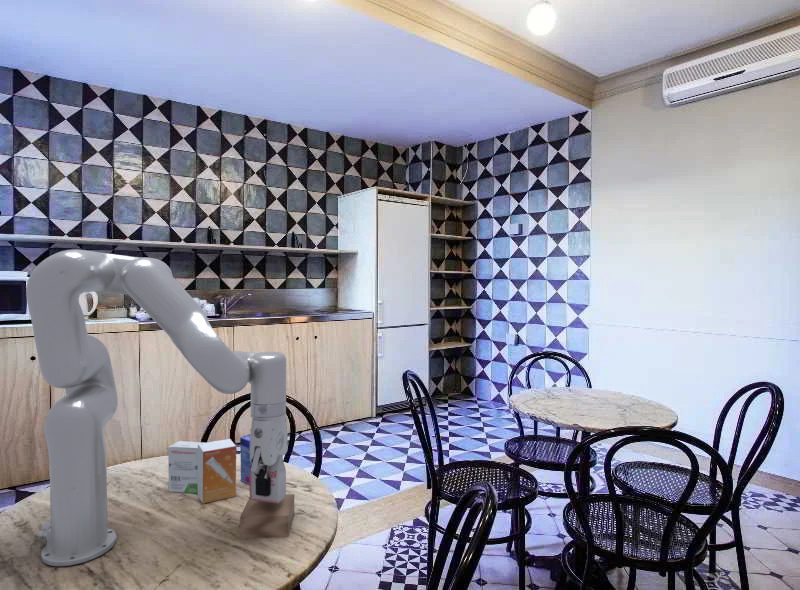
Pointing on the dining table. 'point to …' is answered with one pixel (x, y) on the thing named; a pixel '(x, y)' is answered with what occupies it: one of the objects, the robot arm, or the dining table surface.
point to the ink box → (183, 467)
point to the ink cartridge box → (245, 458)
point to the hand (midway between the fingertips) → (267, 489)
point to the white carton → (277, 483)
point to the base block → (267, 518)
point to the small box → (216, 470)
